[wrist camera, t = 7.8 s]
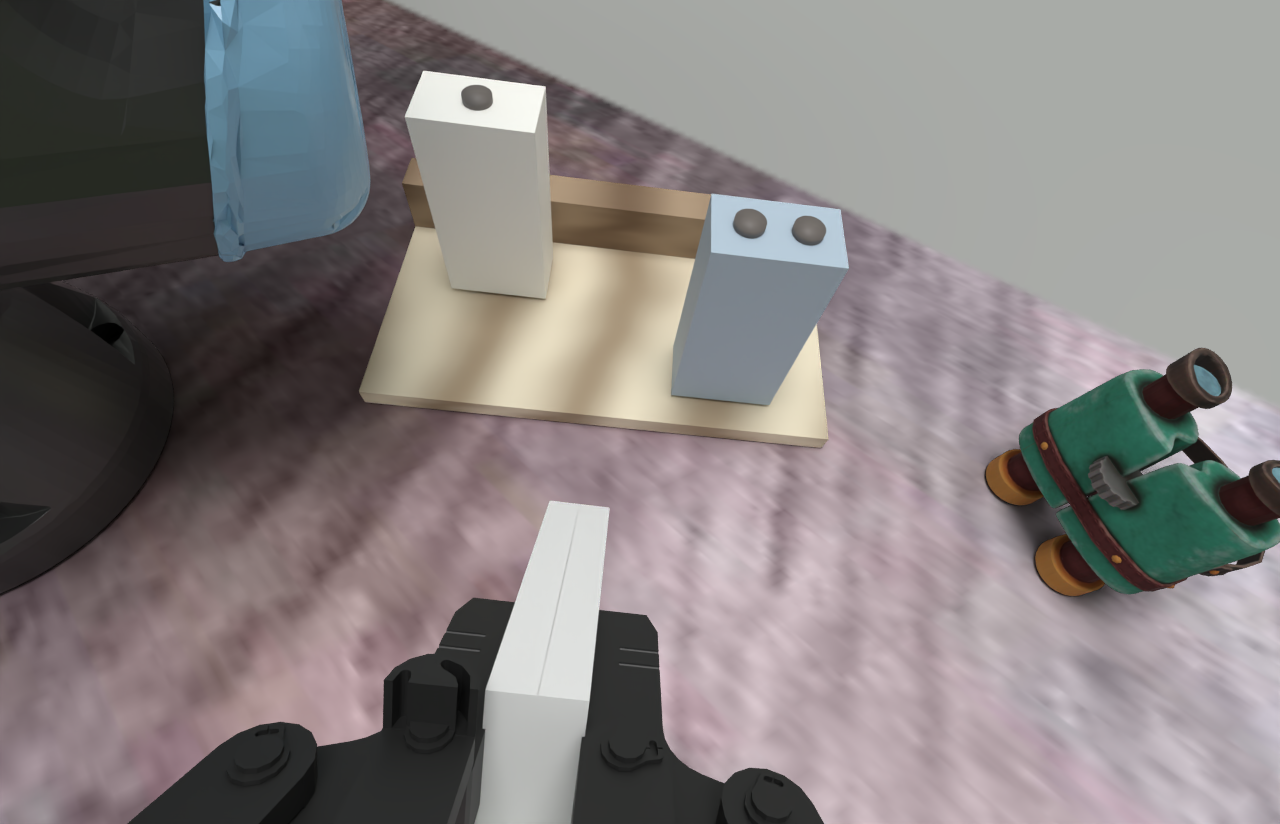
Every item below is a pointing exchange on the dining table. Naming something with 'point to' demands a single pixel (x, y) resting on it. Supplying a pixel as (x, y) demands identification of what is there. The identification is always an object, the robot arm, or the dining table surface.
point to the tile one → (486, 180)
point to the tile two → (755, 296)
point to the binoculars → (1140, 484)
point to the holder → (576, 327)
